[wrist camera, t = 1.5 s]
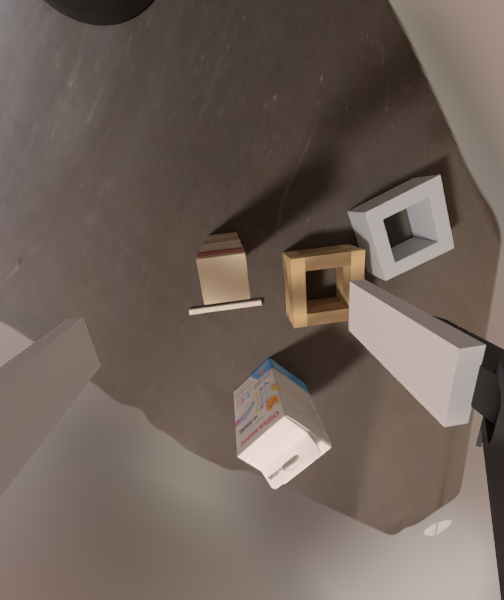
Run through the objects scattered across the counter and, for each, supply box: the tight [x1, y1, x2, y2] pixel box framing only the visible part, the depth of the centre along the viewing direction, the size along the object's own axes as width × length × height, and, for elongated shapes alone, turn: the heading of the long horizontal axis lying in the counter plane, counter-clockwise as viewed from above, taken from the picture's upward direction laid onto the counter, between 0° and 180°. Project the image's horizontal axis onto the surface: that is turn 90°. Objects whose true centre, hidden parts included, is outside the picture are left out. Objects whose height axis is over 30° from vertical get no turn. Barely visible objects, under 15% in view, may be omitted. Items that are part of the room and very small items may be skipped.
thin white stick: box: [189, 299, 262, 315], centre depth 36 cm, size 1×10×1 cm, turn 97°
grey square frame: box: [347, 175, 454, 281], centre depth 33 cm, size 9×9×4 cm
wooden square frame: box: [283, 244, 365, 328], centre depth 35 cm, size 9×9×4 cm
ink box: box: [234, 358, 331, 489], centre depth 36 cm, size 9×8×13 cm
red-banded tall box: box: [196, 232, 250, 305], centre depth 27 cm, size 4×4×15 cm
